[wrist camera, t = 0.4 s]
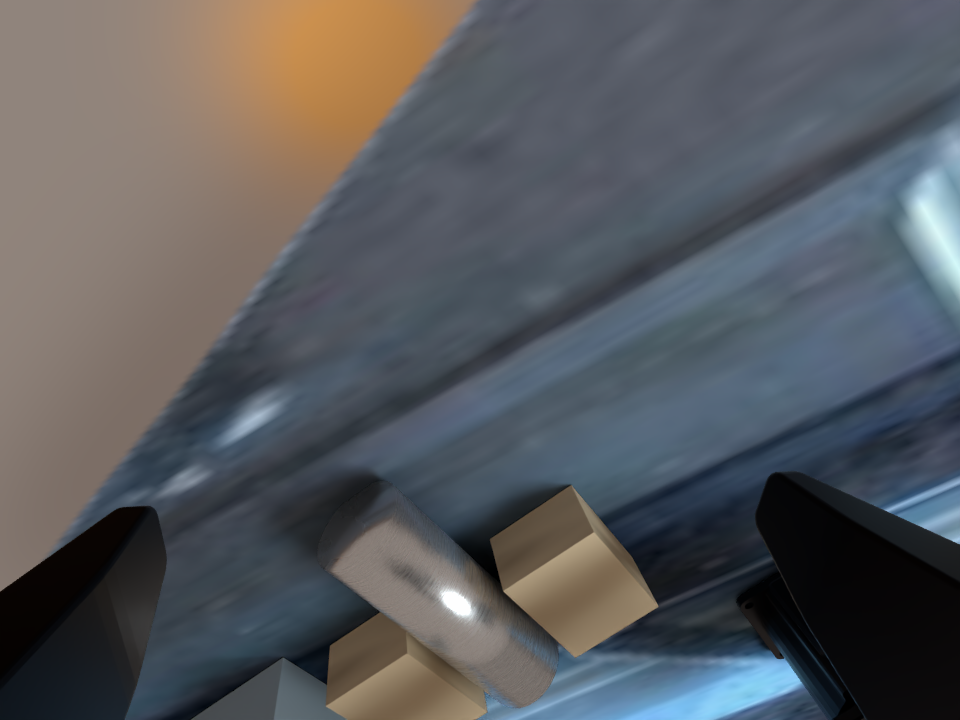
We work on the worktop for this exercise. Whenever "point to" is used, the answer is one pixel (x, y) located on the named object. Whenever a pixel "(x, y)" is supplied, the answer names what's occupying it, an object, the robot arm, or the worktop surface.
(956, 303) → the worktop surface
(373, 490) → the light grey bar
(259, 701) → the v block
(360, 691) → the beam
